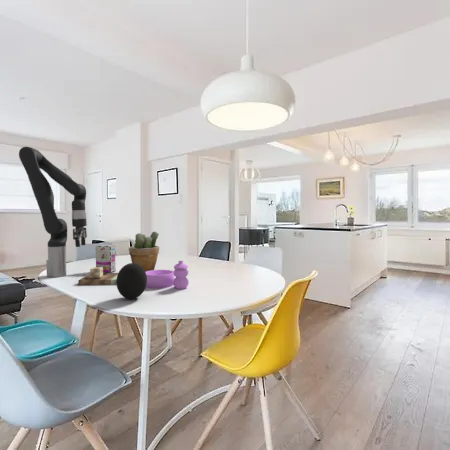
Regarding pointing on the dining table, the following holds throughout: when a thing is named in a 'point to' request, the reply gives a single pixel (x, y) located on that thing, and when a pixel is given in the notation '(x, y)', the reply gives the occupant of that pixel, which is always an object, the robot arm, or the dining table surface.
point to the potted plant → (145, 251)
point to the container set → (168, 277)
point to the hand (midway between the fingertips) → (80, 246)
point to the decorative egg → (131, 281)
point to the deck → (99, 279)
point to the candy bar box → (106, 257)
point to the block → (96, 272)
